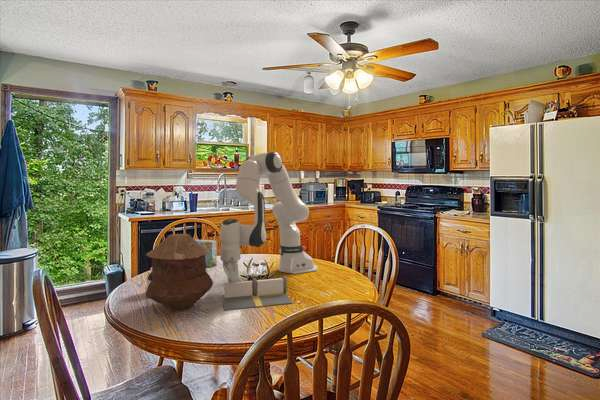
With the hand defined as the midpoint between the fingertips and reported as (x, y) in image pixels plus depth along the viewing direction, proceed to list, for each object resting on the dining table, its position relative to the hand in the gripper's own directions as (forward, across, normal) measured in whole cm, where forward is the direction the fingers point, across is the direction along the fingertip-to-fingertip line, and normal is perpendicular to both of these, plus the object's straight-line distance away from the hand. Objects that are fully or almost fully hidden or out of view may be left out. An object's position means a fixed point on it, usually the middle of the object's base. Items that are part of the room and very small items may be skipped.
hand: (230, 285), depth 158 cm
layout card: (+4, -9, -9) cm, 14 cm away
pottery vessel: (+4, -7, +22) cm, 23 cm away
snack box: (+4, +60, +9) cm, 60 cm away
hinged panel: (+3, -5, -3) cm, 6 cm away
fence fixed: (+4, -6, -16) cm, 18 cm away
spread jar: (+4, +17, +30) cm, 34 cm away
